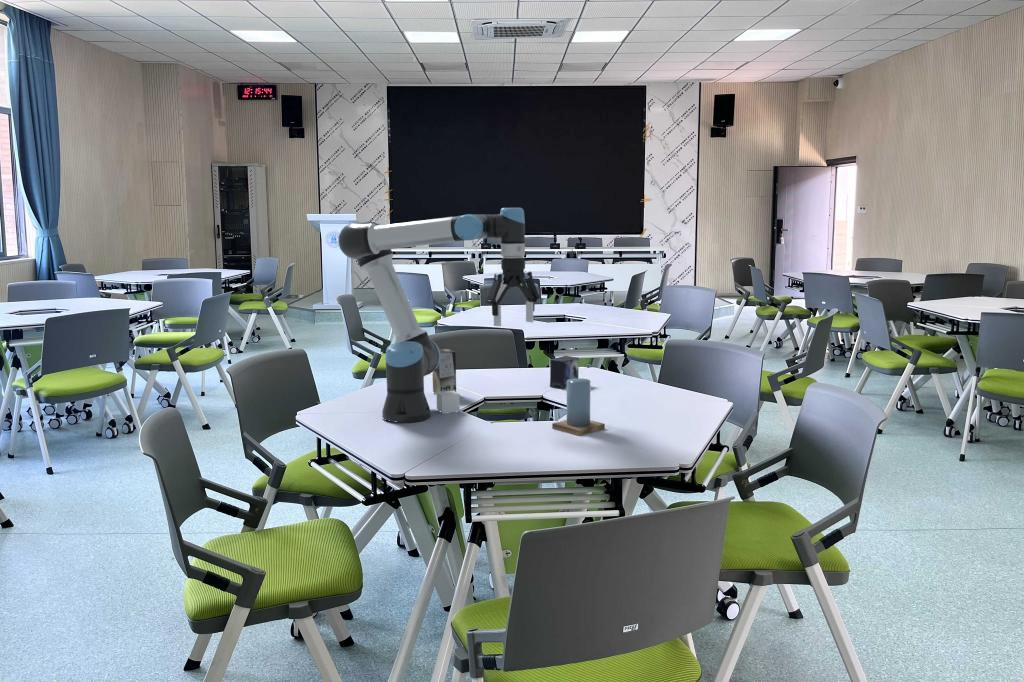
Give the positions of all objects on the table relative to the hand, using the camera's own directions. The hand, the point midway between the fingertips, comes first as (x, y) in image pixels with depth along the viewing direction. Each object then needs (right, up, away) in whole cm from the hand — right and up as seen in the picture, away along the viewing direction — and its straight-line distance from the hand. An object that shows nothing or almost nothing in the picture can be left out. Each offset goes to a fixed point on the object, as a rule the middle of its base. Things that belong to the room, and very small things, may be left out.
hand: (513, 324), depth 259 cm
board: (+19, -32, -17) cm, 41 cm away
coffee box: (-25, -25, +30) cm, 46 cm away
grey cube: (-21, -29, +7) cm, 36 cm away
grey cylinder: (+19, -30, -18) cm, 40 cm away
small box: (+19, -22, +44) cm, 53 cm away
